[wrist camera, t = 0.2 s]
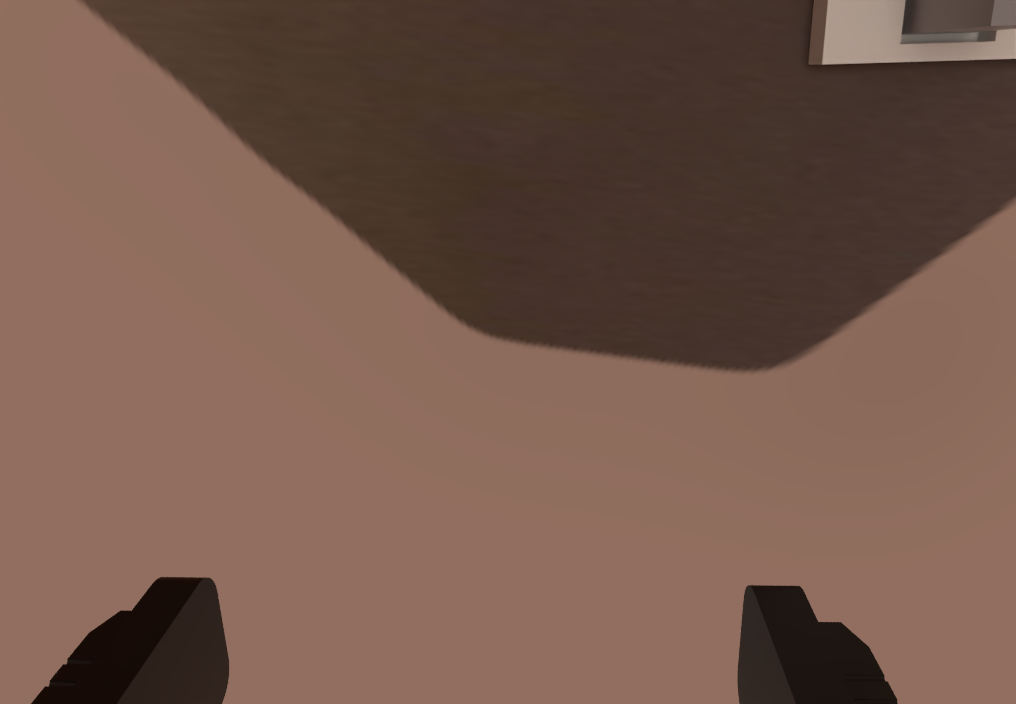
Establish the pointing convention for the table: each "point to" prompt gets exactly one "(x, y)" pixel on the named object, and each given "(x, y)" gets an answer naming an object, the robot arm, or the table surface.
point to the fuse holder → (893, 37)
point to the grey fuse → (958, 16)
